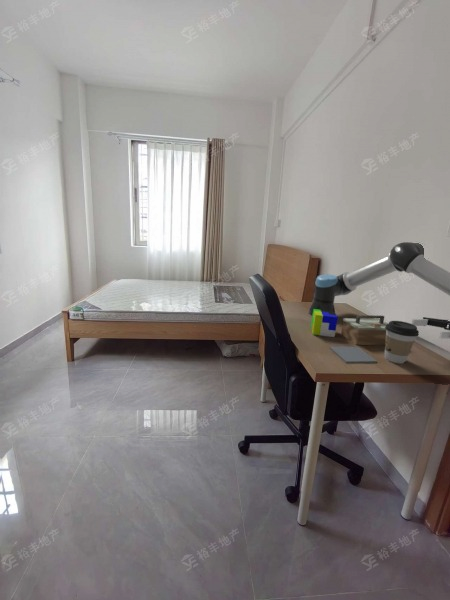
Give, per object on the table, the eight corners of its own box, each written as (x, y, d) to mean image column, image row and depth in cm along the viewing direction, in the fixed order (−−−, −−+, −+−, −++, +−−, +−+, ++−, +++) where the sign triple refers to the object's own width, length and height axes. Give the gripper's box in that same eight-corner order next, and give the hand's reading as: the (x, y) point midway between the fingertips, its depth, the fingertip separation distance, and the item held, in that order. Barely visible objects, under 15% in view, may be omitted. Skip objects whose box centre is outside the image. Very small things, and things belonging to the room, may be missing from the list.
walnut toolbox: (340, 333, 135) (344, 311, 132) (375, 333, 138) (379, 311, 135) (355, 344, 123) (360, 320, 120) (393, 344, 125) (399, 320, 122)
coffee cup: (373, 352, 116) (380, 318, 112) (400, 353, 116) (408, 320, 112) (388, 365, 105) (396, 328, 101) (417, 367, 105) (427, 330, 101)
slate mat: (329, 348, 118) (329, 346, 118) (357, 348, 120) (357, 346, 119) (345, 362, 105) (346, 361, 105) (376, 362, 107) (377, 361, 107)
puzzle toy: (334, 337, 131) (337, 317, 128) (312, 334, 132) (315, 314, 130) (330, 329, 140) (334, 311, 138) (310, 327, 142) (313, 309, 139)
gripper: (504, 350, 100) (452, 350, 97) (443, 326, 124) (400, 326, 121) (510, 330, 98) (457, 330, 95) (447, 310, 122) (404, 309, 119)
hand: (425, 328), depth 108 cm, fingers open, 13 cm apart
